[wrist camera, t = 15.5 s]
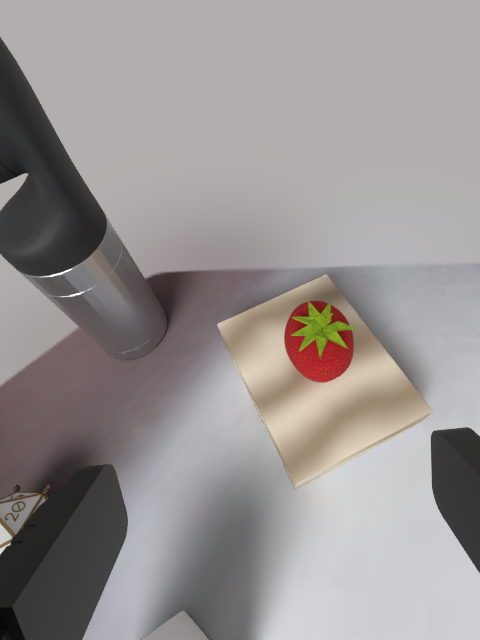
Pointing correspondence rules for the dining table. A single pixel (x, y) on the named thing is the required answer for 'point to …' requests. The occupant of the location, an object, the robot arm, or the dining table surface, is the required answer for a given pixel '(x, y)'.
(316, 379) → the strawberry
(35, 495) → the game die
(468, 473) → the robot arm
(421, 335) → the dining table surface
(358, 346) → the birch stand
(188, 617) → the grey tall block
